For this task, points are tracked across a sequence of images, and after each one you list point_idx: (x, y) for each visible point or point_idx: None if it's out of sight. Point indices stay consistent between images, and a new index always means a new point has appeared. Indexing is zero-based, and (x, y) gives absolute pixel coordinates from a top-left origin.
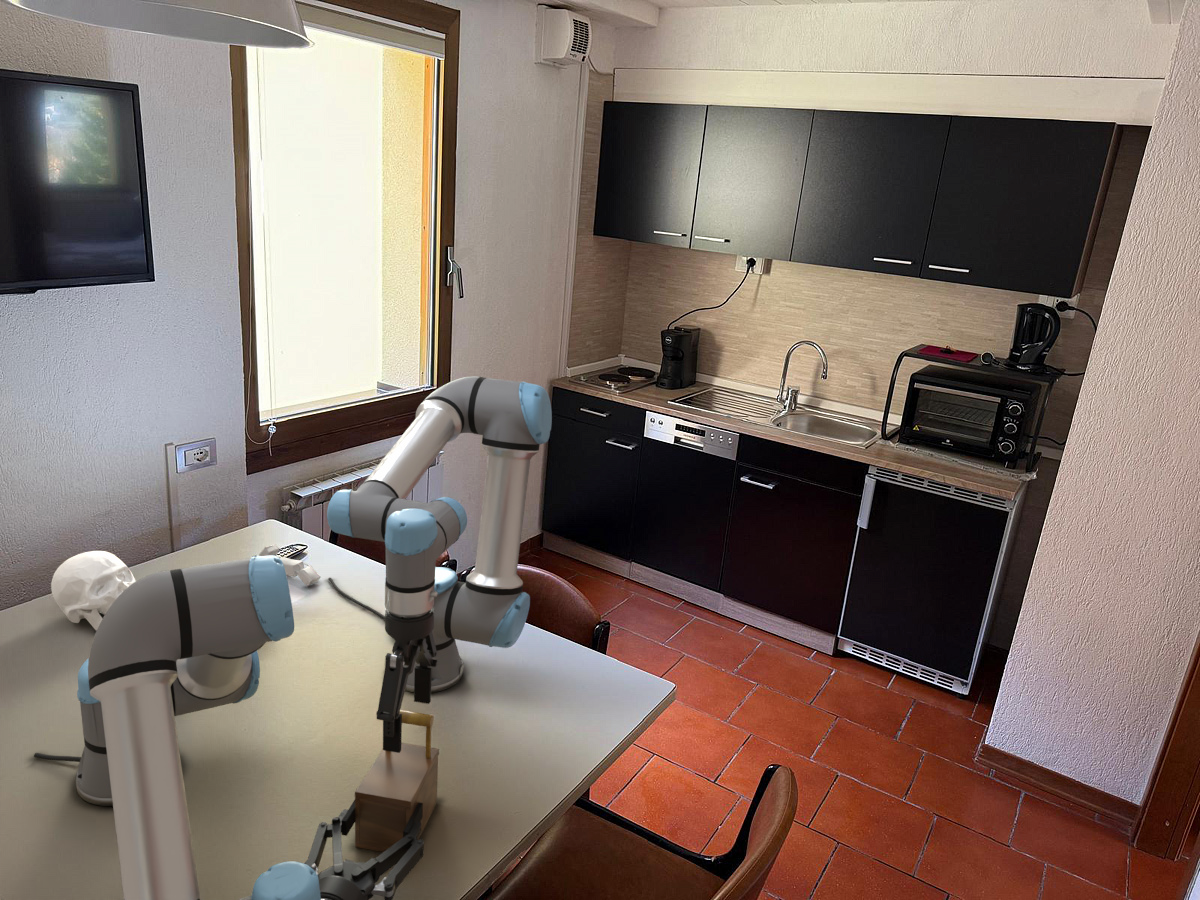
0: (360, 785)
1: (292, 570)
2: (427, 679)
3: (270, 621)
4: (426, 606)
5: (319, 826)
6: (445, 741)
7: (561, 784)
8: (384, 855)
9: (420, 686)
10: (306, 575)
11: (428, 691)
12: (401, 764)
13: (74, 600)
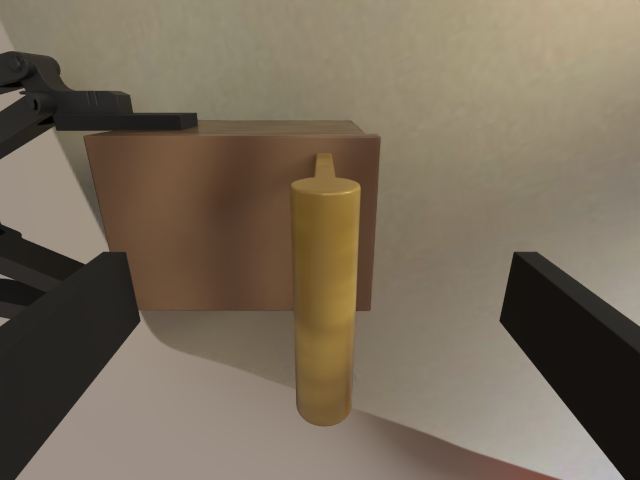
0: (119, 141)
1: None
2: (593, 419)
3: None
4: None
5: (4, 56)
6: (563, 192)
7: (440, 425)
8: (10, 270)
9: (564, 336)
10: None
11: (537, 362)
12: (264, 231)
13: None
